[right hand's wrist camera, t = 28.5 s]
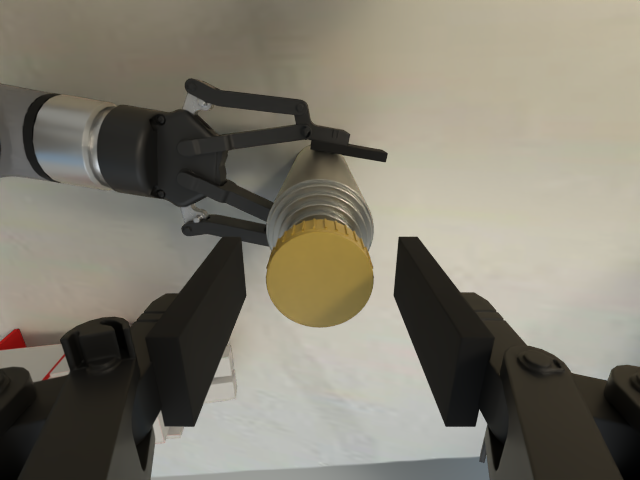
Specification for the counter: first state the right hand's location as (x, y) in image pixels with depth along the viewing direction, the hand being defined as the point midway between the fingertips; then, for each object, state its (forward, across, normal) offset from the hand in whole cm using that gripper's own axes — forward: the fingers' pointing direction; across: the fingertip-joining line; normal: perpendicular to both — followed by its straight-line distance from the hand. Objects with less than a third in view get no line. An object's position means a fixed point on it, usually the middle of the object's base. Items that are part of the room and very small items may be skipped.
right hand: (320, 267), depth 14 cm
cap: (-1, 0, 0) cm, 1 cm away
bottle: (+24, 0, 0) cm, 24 cm away
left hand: (+18, -5, +1) cm, 19 cm away
